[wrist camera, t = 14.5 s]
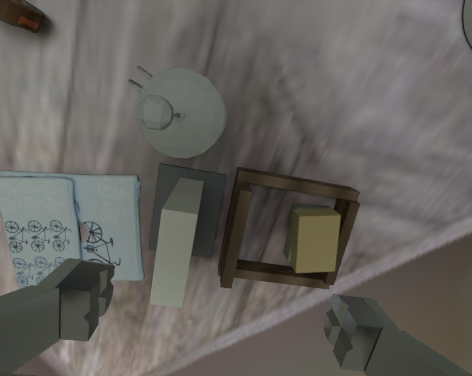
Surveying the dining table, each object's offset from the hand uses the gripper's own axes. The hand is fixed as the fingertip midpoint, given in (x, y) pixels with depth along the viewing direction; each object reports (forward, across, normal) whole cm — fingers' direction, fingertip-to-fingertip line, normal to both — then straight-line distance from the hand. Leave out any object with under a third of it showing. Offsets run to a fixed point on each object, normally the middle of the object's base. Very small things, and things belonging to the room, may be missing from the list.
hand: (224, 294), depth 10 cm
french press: (+31, +6, -6) cm, 32 cm away
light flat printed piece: (+31, +20, +15) cm, 40 cm away
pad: (+30, +4, +9) cm, 32 cm away
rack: (+31, -11, +9) cm, 34 cm away
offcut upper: (+28, -15, +9) cm, 34 cm away
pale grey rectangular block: (+30, +4, +9) cm, 32 cm away
